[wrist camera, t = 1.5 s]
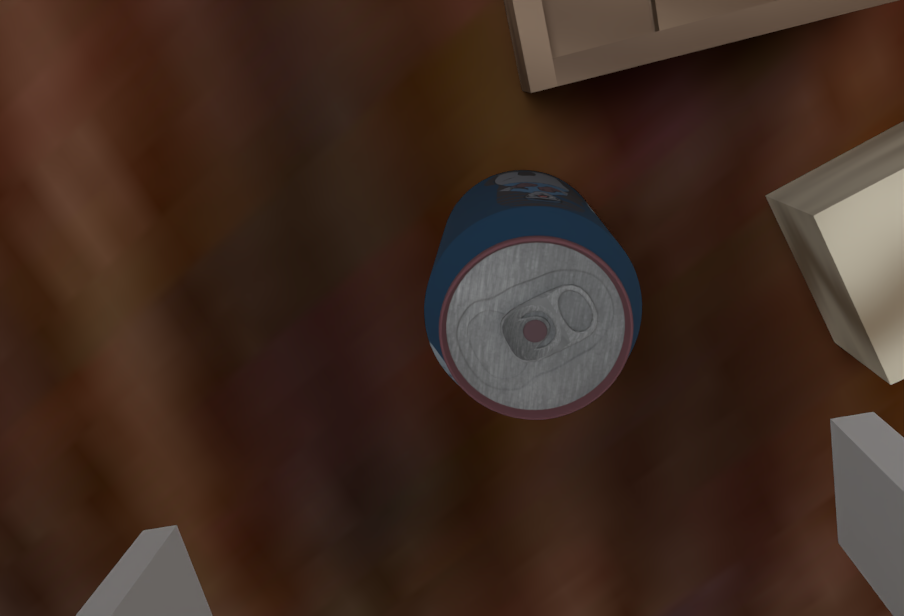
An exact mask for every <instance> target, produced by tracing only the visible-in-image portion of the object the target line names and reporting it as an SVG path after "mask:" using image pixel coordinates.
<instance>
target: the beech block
mask: <svg viewBox="0 0 904 616" xmlns="http://www.w3.org/2000/svg"><path fill="white" fill-rule="evenodd" d="M766 198H767V200H768V203H769V205H770V207H771V209H772V211H773V213H774V215H775V217H776V220H777V222H778V224H779V226H780V228H781V230H782V232H783V234H784V236H785V239H786V241H787V243H788V245H789V247H790V249H791V251H792V253H793V256H794V258H795V260H796V262H797V264H798V266H799V268H800V270H801V272H802V275H803V277H804V279H805V281H806V283H807V285H808V287H809V289H810V291H811V294H812V296H813V298H814V300H815V302H816V304H817V306H818V308H819V311H820V313H821V315H822V317H823V319H824V321H825V323H826V325H827V327H828V330H829V332H830V334H831V336H832V338H833V340H834V342H835V343H836V344H837V345H839V346H840V347H841V348H843V349H844V350H845V351H847V352H848V353H849V354H851V355H852V356H853V357H855V358H856V359H857V360H859V361H860V362H861V363H862V364H864V365H865V366H866V367H868V368H869V369H870V370H872V371H873V372H874V373H876V374H877V375H878V376H880V377H881V378H882V379H884V380H885V381H886V382H888V383H889V384H890V385H892V384H894V383H896V382H898V381H900V380H902V379H904V121H903V122H901V123H900V124H898V125H896V126H894V127H892V128H890V129H888V130H887V131H885V132H883V133H881V134H879V135H877V136H875V137H874V138H872V139H870V140H868V141H866V142H864V143H862V144H861V145H859V146H857V147H855V148H853V149H851V150H849V151H848V152H846V153H844V154H842V155H840V156H838V157H836V158H835V159H833V160H831V161H829V162H827V163H825V164H823V165H822V166H820V167H818V168H816V169H814V170H812V171H810V172H809V173H807V174H805V175H803V176H801V177H799V178H797V179H796V180H794V181H792V182H790V183H788V184H786V185H784V186H783V187H781V188H779V189H777V190H775V191H773V192H771V193H770V194H768V195H766Z"/></svg>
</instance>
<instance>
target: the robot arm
mask: <svg viewBox="0 0 904 616" xmlns="http://www.w3.org/2000/svg"><path fill="white" fill-rule="evenodd" d="M830 423H831V438H832V453H833V469H834V484H835V499H836V515H837V530H838V543H839V544H840V546H841V547H842V548H843V550H844V551H845V552H846V553H847V555H848V556H849V557H850V559H851V560H852V561H853V563H854V564H855V565H856V567H857V568H858V569H859V571H860V572H861V573H862V575H863V576H864V577H865V579H866V580H867V581H868V583H869V584H870V585H871V587H872V588H873V589H874V591H875V592H876V593H877V595H878V596H879V597H880V599H881V600H882V601H883V603H884V604H885V605H886V607H887V608H888V609H889V611H890V612H891V613H892V615H893V616H904V438H903V437H902V436H901V435H900V434H899V433H897V432H896V431H895V430H894V429H893V428H892V427H890V426H889V425H888V424H887V423H886V422H885V421H884V420H882V419H881V418H880V417H879V416H878V415H877V414H875V413H874V412H870V413H864V414H857V415H851V416H845V417H839V418H833V419H830ZM76 616H212V613H211V610H210V608H209V605H208V603H207V600H206V598H205V595H204V593H203V590H202V588H201V585H200V583H199V580H198V578H197V575H196V573H195V570H194V567H193V565H192V562H191V560H190V557H189V555H188V552H187V550H186V547H185V545H184V542H183V540H182V537H181V535H180V532H179V530H178V527H177V525H174V526H168V527H162V528H156V529H149V530H143V531H142V533H141V534H140V535H139V536H138V538H137V539H136V540H135V541H134V543H133V544H132V545H131V546H130V548H129V549H128V550H127V551H126V553H125V554H124V555H123V557H122V558H121V559H120V560H119V562H118V563H117V564H116V565H115V567H114V568H113V569H112V570H111V572H110V573H109V574H108V575H107V577H106V578H105V579H104V581H103V582H102V583H101V584H100V586H99V587H98V588H97V589H96V591H95V592H94V593H93V594H92V596H91V597H90V598H89V599H88V601H87V602H86V603H85V605H84V606H83V607H82V608H81V610H80V611H79V612H78V613H77V615H76Z"/></svg>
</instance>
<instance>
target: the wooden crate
mask: <svg viewBox="0 0 904 616" xmlns="http://www.w3.org/2000/svg"><path fill="white" fill-rule="evenodd" d="M894 1H898V0H504V4H505V9H506V14H507V19H508V24H509V29H510V34H511V39H512V44H513V48H514V53H515V58H516V63H517V68H518V73H519V78H520V83H521V88H522V91H525V92H529V93H533V92H537V91H541V90H545V89H549V88H553V87H557V86H561V85H565V84H569V83H573V82H577V81H581V80H585V79H589V78H593V77H597V76H601V75H605V74H609V73H613V72H617V71H620V70H624V69H628V68H632V67H636V66H640V65H644V64H648V63H652V62H656V61H660V60H664V59H668V58H672V57H676V56H680V55H684V54H688V53H692V52H696V51H700V50H704V49H708V48H711V47H715V46H719V45H723V44H727V43H731V42H735V41H739V40H743V39H747V38H751V37H755V36H759V35H763V34H767V33H771V32H775V31H779V30H783V29H787V28H791V27H795V26H799V25H803V24H806V23H810V22H814V21H818V20H822V19H826V18H830V17H834V16H838V15H842V14H846V13H850V12H854V11H858V10H862V9H866V8H870V7H874V6H878V5H882V4H886V3H890V2H894Z"/></svg>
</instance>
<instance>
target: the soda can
mask: <svg viewBox="0 0 904 616" xmlns="http://www.w3.org/2000/svg"><path fill="white" fill-rule="evenodd" d="M641 316H642V297H641V290H640V285H639V281H638V278H637V275H636V272H635V270H634V267H633V265H632V263H631V261H630V259H629V257H628V256H627V254H626V253H625V251H624V250H623V249H622V247H621V246H620V245H619V243H618V242H617V241H616V240H615V238H614V237H613V236H612V234H611V233H610V232H609V231H608V229H607V228H606V227H605V226H604V224H603V223H602V222H601V220H600V219H599V218H598V217H597V215H596V214H595V213H594V211H593V210H592V209H591V208H590V206H589V205H588V204H587V202H586V201H585V200H584V199H583V197H582V196H581V195H580V194H579V193H578V192H577V191H576V190H575V189H574V188H572V187H571V186H570V185H568V184H567V183H565V182H564V181H562V180H560V179H558V178H556V177H554V176H551V175H549V174H546V173H542V172H537V171H530V170H515V171H508V172H503V173H500V174H496V175H494V176H491V177H489V178H487V179H485V180H483V181H481V182H480V183H478V184H477V185H475V186H474V187H472V188H471V189H470V190H469V191H468V192H467V193H466V194H465V195H464V196H463V197H462V198H461V199H460V200H459V201H458V203H457V204H456V206H455V207H454V209H453V210H452V212H451V214H450V216H449V218H448V221H447V224H446V226H445V230H444V233H443V236H442V239H441V243H440V246H439V249H438V253H437V256H436V259H435V262H434V266H433V269H432V272H431V275H430V279H429V282H428V286H427V290H426V295H425V304H424V317H425V326H426V331H427V335H428V339H429V342H430V345H431V347H432V350H433V352H434V354H435V356H436V358H437V360H438V361H439V363H440V364H441V366H442V367H443V369H444V370H445V371H446V373H447V374H448V375H449V376H450V377H451V378H452V379H453V380H454V381H455V382H456V383H457V384H458V385H459V386H460V387H461V388H462V389H463V390H464V391H465V392H466V393H467V394H468V395H469V396H470V397H472V398H473V399H474V400H475V401H477V402H478V403H480V404H481V405H483V406H485V407H487V408H489V409H491V410H493V411H495V412H497V413H500V414H503V415H506V416H510V417H514V418H520V419H528V420H544V419H552V418H557V417H561V416H564V415H567V414H570V413H572V412H575V411H577V410H579V409H581V408H583V407H585V406H586V405H588V404H590V403H591V402H593V401H594V400H596V399H597V398H598V397H599V396H601V395H602V394H603V393H604V392H605V391H606V390H607V389H608V388H609V387H610V386H611V385H612V384H613V382H614V381H615V380H616V379H617V377H618V376H619V374H620V373H621V371H622V369H623V367H624V365H625V363H626V361H627V358H628V357H629V355H630V353H631V351H632V349H633V347H634V345H635V342H636V339H637V336H638V333H639V329H640V323H641Z"/></svg>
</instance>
